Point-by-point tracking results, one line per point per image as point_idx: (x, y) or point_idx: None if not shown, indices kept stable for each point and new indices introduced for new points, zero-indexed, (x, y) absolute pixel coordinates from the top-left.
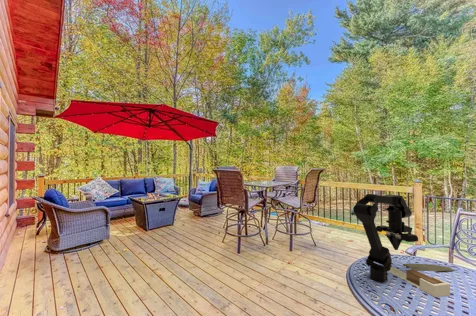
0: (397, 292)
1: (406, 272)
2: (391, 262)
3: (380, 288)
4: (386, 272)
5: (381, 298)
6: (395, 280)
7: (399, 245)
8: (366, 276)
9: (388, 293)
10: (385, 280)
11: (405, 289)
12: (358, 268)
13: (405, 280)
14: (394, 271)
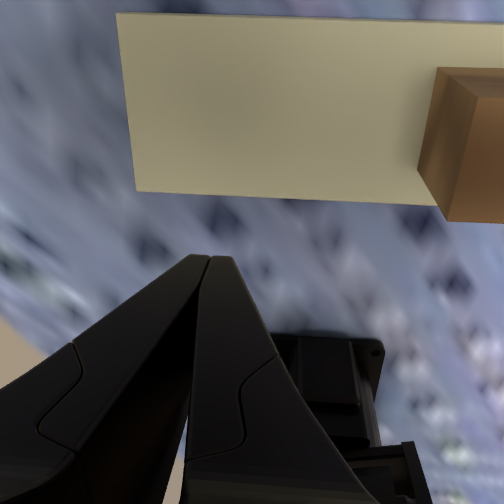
0: (490, 387)
1: (439, 205)
2: (430, 498)
3: (402, 436)
4: (358, 398)
5: (480, 499)
6: (359, 253)
7: (263, 326)
8: None
9: (466, 439)
10: (366, 378)
11: (497, 305)
12: None
13: (425, 201)
14: (233, 127)
